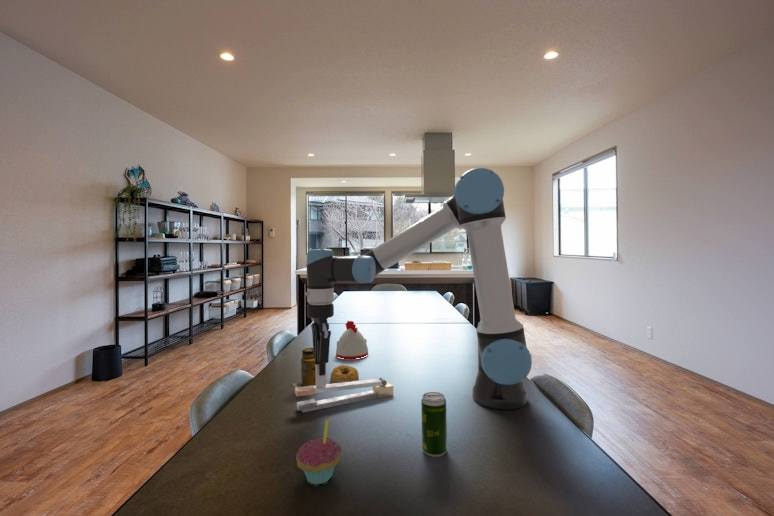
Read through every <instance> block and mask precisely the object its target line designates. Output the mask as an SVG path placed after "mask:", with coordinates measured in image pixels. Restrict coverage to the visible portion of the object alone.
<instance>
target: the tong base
mask: <svg viewBox="0 0 774 516" xmlns="http://www.w3.org/2000/svg"><path fill="white" fill-rule="evenodd" d="M392 396H394V385H393V384H391V383H390V381H387V385H385V386H384V385H383V384H382V385H381V386H373V387H372V390H371V389H370V390H367V391H366V390H365V391H361V392H355V393H351V394H345V395H341V396H335V397H330V398H325V399H320V400H319V399H318V400H315V398H311V399H306V400H301V401H297V402H296V408H297V410H298V412H300V411H301V412H302V413H308V412H312V411H313V412H314V411H319V410H322V409H323V410H324V409H328V408H332V407H337V406H343V405H348V404H352V403H358V402H362V401H367V400H373V399H383V398H389V397H392Z"/></svg>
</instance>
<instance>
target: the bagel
mask: <svg viewBox="0 0 774 516" xmlns="http://www.w3.org/2000/svg"><path fill="white" fill-rule="evenodd" d="M359 374H360V373H359V371H358V369H357V368H356V367H353V366H350V365H346V364H345V365H344V364H340V365H337V366H335V367H334V368H333V369H332V371H331V373H330V378H329V381H330V382H331V384H334V383H343V382H352V381H360V379H359V378H360V377H359Z"/></svg>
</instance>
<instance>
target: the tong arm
mask: <svg viewBox="0 0 774 516" xmlns="http://www.w3.org/2000/svg"><path fill="white" fill-rule="evenodd" d="M387 382H388V381H387V380H385V379H384V378H382V377H380V378H372V379H364V380H363V379H362V380H359V381H352V382H343V383H334V384H333V383H326V386H320V387H317V386H305V387H296V388H295V387H294V394H295V396H296V397H304V396H313V395H316V394H321V393H322V394H323V393H329V392H338V391H346V390H353V389H354V390H355V389H362V388H363V389H364V388H373V386H381V385H382V384H383V385H384V386H385V385H387Z"/></svg>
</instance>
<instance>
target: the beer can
mask: <svg viewBox="0 0 774 516" xmlns="http://www.w3.org/2000/svg"><path fill="white" fill-rule="evenodd" d="M421 395H422V398H421V400H420V401H421V402H420V404H421V447H422V448H421V449H422V452H423V453H424V454H425V455H426V454H427V455H426V456H428V455H429V456H428V457H430V456H431V458H441V457H443V456H445V455H446V452H447V450H448V446H447V445H448V437H447V436H448V435H447V434H448V431H447V430H448V429H447V428H448V427H447V426H448V425H447V424H448V423H447V421H448V420H447V400H446V396H445V394H444V393H442V392H438V391H427V392H425V393H423V394H421Z"/></svg>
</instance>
